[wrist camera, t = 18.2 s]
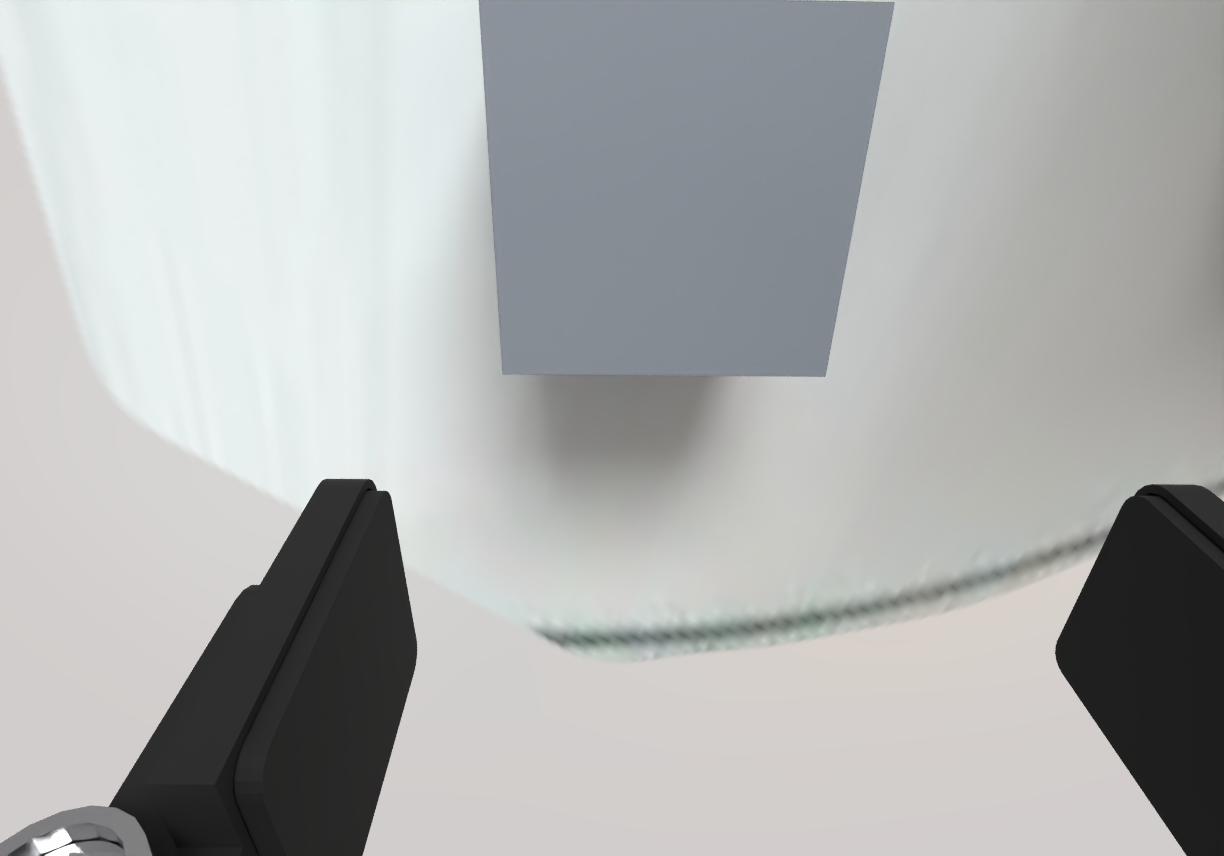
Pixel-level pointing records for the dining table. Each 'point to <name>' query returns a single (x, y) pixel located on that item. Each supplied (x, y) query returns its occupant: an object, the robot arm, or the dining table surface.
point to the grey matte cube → (675, 179)
